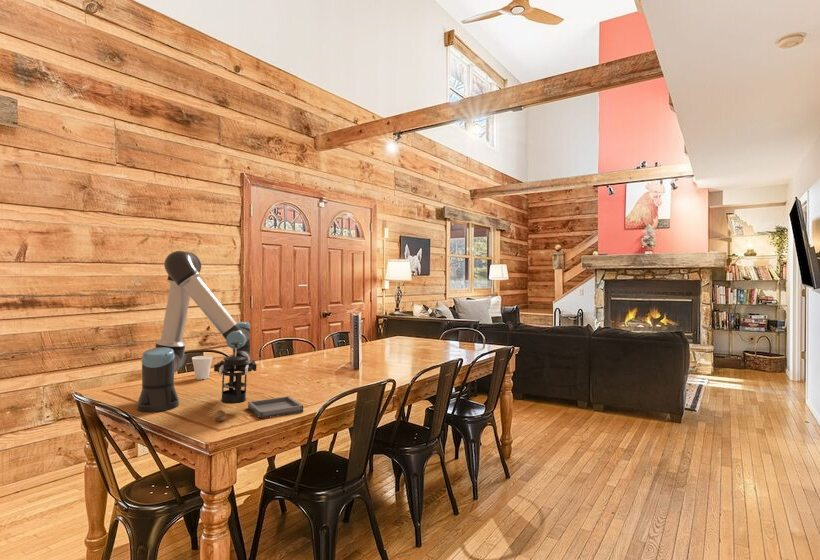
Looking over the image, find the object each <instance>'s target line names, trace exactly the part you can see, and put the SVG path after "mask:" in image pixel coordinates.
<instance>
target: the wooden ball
mask: <svg viewBox="0 0 820 560" xmlns="http://www.w3.org/2000/svg"><path fill="white" fill-rule="evenodd" d="M226 417H227V414H226V412H225V411H224V410H221V409H220V410H217V411H216V412H215V413H214V419H215V421H216V422H219V421H220V422H223V421H224V420H226Z"/></svg>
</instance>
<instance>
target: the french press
mask: <svg viewBox="0 0 820 560" xmlns="http://www.w3.org/2000/svg"><path fill="white" fill-rule="evenodd" d="M231 344H233V345H235V356H232V355H231V356H225V357H223V358H222V359H223V361H224V364H225V365H233V366H235V368H229V369H225V370H223V373H222V381H221V382H222V383H221V399H220V402H221V403H222V404H228V405H229V404H231V405H232V404H233V405H235V404H241V403H244V402H246V401H247V398H246V396H247V395H246V394H247V376H248V374H247V375H245V369H243V368H236V365H244V364H246V360H247V357H243V356H236V348H237V345H239V344H242V343H239V342H233V343H231ZM225 376H226V377H229V378H228V379H229V381H228V382H226V383H225ZM242 376H244V382H242V378H243V377H242ZM242 388H243V389H244V390H243V389H242ZM224 389H227V390H224Z"/></svg>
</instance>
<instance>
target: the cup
mask: <svg viewBox="0 0 820 560" xmlns="http://www.w3.org/2000/svg"><path fill="white" fill-rule="evenodd" d="M213 358H214V357H213V356H212V355H211V356H210V355H197V356H193V357H191V360H192V366H193V371H194V376H195V379H196V380H198V381H203V380H202V379H204V380H208V379H209V377H210V371H211V366H212V362H213V361H212V360H213ZM207 378H208V379H207Z"/></svg>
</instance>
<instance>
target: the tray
mask: <svg viewBox="0 0 820 560" xmlns="http://www.w3.org/2000/svg"><path fill="white" fill-rule="evenodd" d="M247 407H248V409H249V410H250V411H251V410H252V411H253V412H254V413H255V416H257V417H258V416H259V417H260V418H263V419H265V418H264V417H269V418H271V417H270V416H275V417H278V416H277V415H281V416H285V415H284V414H287V415H292V414H299V412H300V413H304V405H303V404H301V403H300V402H298V401H297V400H295V399H294V398H293V397H291V396H289V395H288V396H281V397H280V396H279V397H274V398H266V399H259V400H252V401H251V400H250V401H248V402H247ZM252 411H251V412H252ZM253 412H252V413H253ZM254 413H253V414H254ZM259 417H258V418H259ZM260 418H259V419H260Z"/></svg>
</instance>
